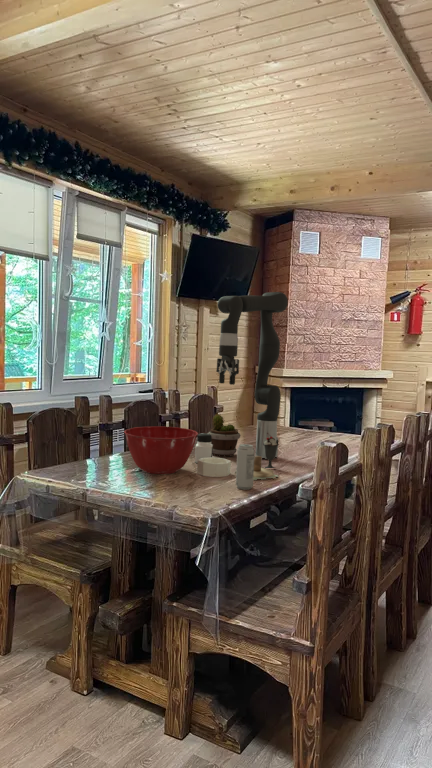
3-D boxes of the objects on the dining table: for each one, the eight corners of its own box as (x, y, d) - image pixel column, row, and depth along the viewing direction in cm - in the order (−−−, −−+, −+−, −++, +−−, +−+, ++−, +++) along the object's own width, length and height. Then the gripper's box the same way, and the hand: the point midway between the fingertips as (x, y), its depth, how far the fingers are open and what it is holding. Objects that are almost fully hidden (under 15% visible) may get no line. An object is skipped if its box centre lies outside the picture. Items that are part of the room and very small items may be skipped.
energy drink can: (242, 484, 197) (244, 443, 196) (256, 488, 193) (258, 445, 192) (232, 487, 192) (234, 444, 191) (246, 490, 188) (248, 447, 187)
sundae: (259, 468, 226) (261, 432, 226) (265, 466, 232) (267, 430, 232) (274, 470, 223) (276, 434, 222) (280, 468, 229) (282, 432, 228)
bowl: (219, 469, 222) (220, 456, 222) (234, 475, 212) (235, 462, 211) (193, 471, 216) (193, 458, 216) (207, 477, 206) (207, 464, 205)
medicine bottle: (211, 463, 233) (212, 435, 232) (194, 462, 233) (195, 434, 232) (212, 460, 240) (213, 433, 239) (195, 459, 240) (196, 432, 239)
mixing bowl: (185, 481, 198) (187, 439, 197) (111, 474, 204) (112, 433, 203) (203, 466, 226) (205, 429, 225) (137, 461, 231) (138, 424, 231)
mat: (261, 471, 221) (261, 469, 221) (278, 478, 210) (278, 475, 210) (235, 473, 215) (235, 471, 215) (252, 480, 205) (252, 478, 205)
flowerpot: (245, 455, 256) (247, 412, 255) (228, 459, 243) (230, 414, 242) (218, 450, 264) (220, 409, 263) (200, 455, 251) (202, 411, 250)
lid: (261, 469, 222) (262, 452, 221) (280, 476, 210) (281, 458, 210) (233, 471, 215) (234, 454, 215) (251, 478, 204) (252, 460, 204)
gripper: (245, 345, 223) (243, 385, 223) (227, 345, 235) (226, 382, 236) (229, 344, 219) (227, 385, 220) (212, 344, 231) (210, 382, 232)
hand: (226, 383), depth 228 cm, fingers open, 8 cm apart
